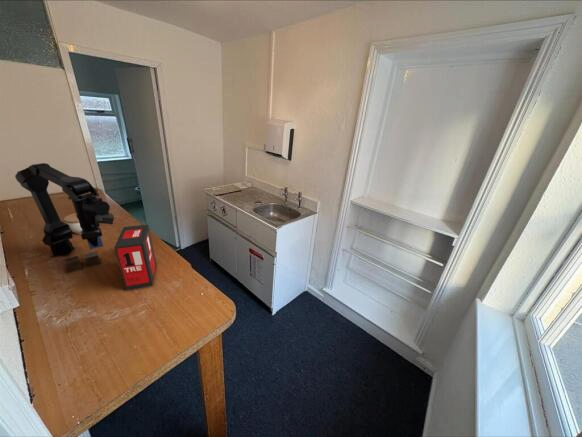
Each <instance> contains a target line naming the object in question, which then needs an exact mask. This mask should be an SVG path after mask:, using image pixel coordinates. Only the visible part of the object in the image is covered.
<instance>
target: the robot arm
mask: <svg viewBox="0 0 582 437" xmlns="http://www.w3.org/2000/svg"><path fill="white" fill-rule="evenodd" d="M14 177H15V179H16V181H17V182H18V183H19V184H20V186H21V187H22V188H24V189H25V190H27V191H28V192H30V194H31V196H32V198H33V200H34V202H35V205H36V207H37V209H38V211H39V212H40V215H41V217H42V219H43V221H44V226H43V230H42V231H43V234H44V236H43V237H42V240H41V241H42V243H43V245H45V246H48V247H49V248H50V251H51V253H52V254H51V257H52V258H53V257H63V256H69V255H70V254H72V252H73V251H74V250H75V247H74V245H73V243H72V241H70V240H71V239H73V232H72V230H71V229H70V227H69V225H68V224H66V223H65V222H64V221H62V220H61V217H60V215H59V214H58V212H57V209H56V207H55V205H54V203H53V200H52V198H51V196H50V194H49V192H48V187H49V185H50V182H51V183H53V184H54V185H57V186H59V187H61V190H62V192H63V193H65V195H67V196H68V197H67V199H68V200H70V201H71V202H72V205H73V209H74V211H75V213H76V214H77V219H78V220H79V223H80V227H81V229H82V231H81V234H80V237H81V240H83V241H85V240H86V241H87V240H88V241H89V242H90V243H91V244H92V245H93V246H98V237H103V231H102V229H101V227H100V226H101V224H104V225H105V224H106V225H113V224H114V219H115V215H114V214H113V213H111V212H110V210H111V209H110V208H111V205H110V204H109V203H108V202H107V201H105V200H103V199H102V198H103V197H100V193H98V190H97V189H96V188H95V187H94V186H93V185H92V184H91V183H90V182H89V181H88V180H87V179H85V178H83V177H80V176H71V175H68V174H66V173H64V172H62V171H60V170H59V169H56V168H54V167H52V166H51V165H50V164H49V163H45V162H41V163H34V164H31V165H29V166H28V167H26V168H24V169H22V170H19V171H17V172H16V174H15V176H14ZM88 241H87V242H88Z"/></svg>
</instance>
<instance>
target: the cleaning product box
mask: <svg viewBox="0 0 582 437" xmlns="http://www.w3.org/2000/svg"><path fill="white" fill-rule="evenodd" d="M116 240H117V241H116V242H115V245H114V251H115V252H114V253H115V254H116V255H115V256H116V258H117V261H118V265H119V268H120V272H121V276H122V279H123V282H124V286H125V289H126V291H131V290H136V289H142V288H146V287H152V286H153V285H154V278H155V273H156V265H157V260H156V255H155V251H154V246H153V240H152V237H151V231H150V227H149V224H141V225H130V226H123V227H122V230H121V232H120V234H119V236H118V238H117V239H116Z"/></svg>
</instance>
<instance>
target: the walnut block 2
mask: <svg viewBox="0 0 582 437" xmlns="http://www.w3.org/2000/svg"><path fill="white" fill-rule="evenodd" d="M84 260H85V262H86V265H87V267H92V266H93V267H94V266H97V265H99V264H101V259H100V256H99V253H98V251H97V250H95V251H91V252H86V253H84Z"/></svg>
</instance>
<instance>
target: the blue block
mask: <svg viewBox="0 0 582 437" xmlns="http://www.w3.org/2000/svg"><path fill="white" fill-rule="evenodd" d="M86 241H87V244H88V247H89V250H94V249H99V248H102V247H104V243H103V240H102V236H100V237H98V246H93V245H92V244H91V243H90V242H89V241H88V240H86Z"/></svg>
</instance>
